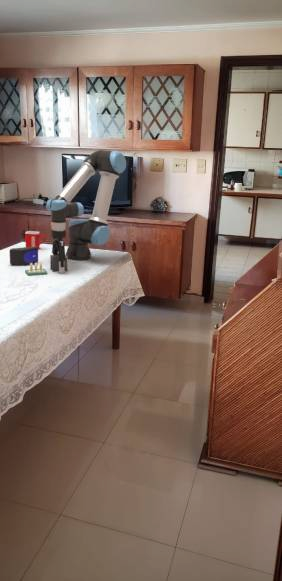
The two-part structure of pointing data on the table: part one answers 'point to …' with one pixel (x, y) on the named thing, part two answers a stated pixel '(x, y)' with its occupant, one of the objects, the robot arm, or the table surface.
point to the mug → (33, 239)
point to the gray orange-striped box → (56, 263)
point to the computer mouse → (23, 256)
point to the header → (36, 270)
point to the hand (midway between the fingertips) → (58, 269)
